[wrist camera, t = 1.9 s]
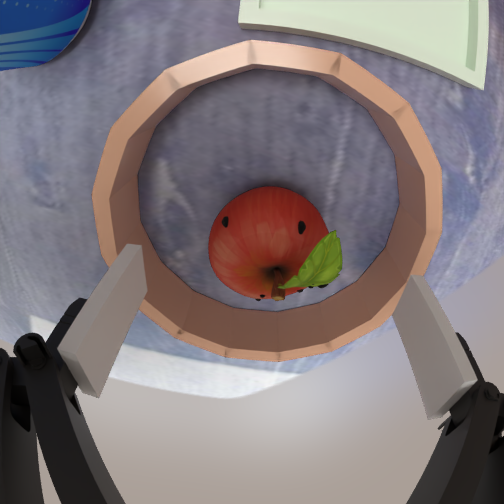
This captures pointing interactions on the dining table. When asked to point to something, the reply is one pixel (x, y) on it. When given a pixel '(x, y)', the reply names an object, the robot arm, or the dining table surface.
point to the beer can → (38, 29)
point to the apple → (273, 245)
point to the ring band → (298, 319)
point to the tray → (389, 29)
